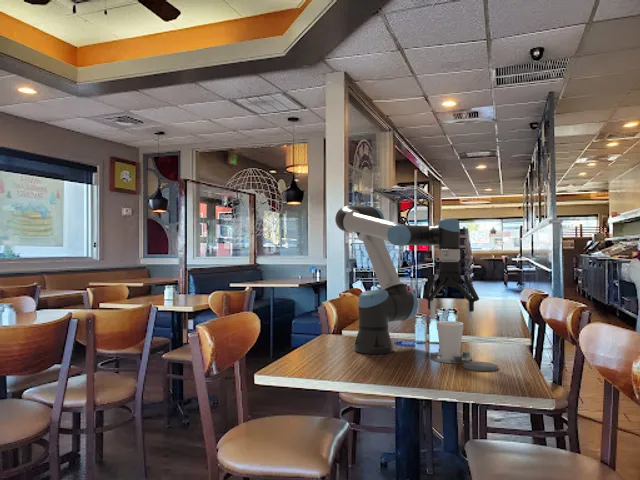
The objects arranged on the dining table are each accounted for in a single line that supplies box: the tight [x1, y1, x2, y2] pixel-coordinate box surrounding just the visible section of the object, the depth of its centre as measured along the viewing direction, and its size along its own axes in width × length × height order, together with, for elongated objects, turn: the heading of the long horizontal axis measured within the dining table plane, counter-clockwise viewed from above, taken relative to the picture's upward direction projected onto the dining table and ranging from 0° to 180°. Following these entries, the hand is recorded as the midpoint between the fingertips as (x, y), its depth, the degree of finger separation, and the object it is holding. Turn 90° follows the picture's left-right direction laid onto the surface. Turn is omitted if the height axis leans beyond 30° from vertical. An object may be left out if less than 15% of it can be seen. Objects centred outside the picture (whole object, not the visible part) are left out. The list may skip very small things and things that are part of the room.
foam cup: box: [436, 320, 464, 360], centre depth 178 cm, size 10×9×13 cm
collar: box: [428, 348, 472, 364], centre depth 178 cm, size 14×14×2 cm
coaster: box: [462, 360, 499, 373], centre depth 164 cm, size 11×11×1 cm
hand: (450, 319), depth 178 cm, fingers open, 13 cm apart
